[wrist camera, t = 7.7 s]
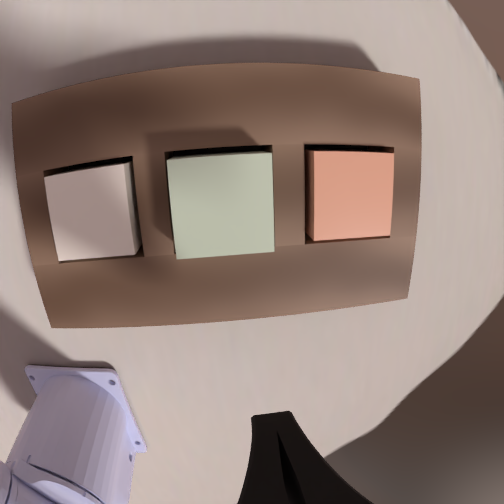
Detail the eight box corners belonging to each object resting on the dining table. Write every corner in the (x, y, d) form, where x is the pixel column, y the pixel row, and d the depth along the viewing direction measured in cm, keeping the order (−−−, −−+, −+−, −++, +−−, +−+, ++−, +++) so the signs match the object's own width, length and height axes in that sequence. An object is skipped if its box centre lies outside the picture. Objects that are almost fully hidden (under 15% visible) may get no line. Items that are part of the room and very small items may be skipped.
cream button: (147, 235, 17) (135, 254, 14) (80, 241, 16) (58, 261, 13) (139, 159, 15) (123, 164, 12) (69, 170, 15) (44, 177, 12)
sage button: (263, 231, 16) (274, 251, 13) (182, 237, 16) (176, 259, 13) (260, 150, 15) (271, 153, 12) (175, 156, 14) (166, 160, 12)
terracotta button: (364, 220, 18) (390, 235, 15) (297, 224, 17) (313, 240, 15) (366, 149, 16) (393, 153, 14) (296, 149, 16) (313, 151, 13)
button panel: (384, 277, 20) (407, 298, 17) (69, 303, 18) (51, 328, 15) (390, 85, 16) (419, 78, 13) (39, 106, 14) (11, 103, 11)
